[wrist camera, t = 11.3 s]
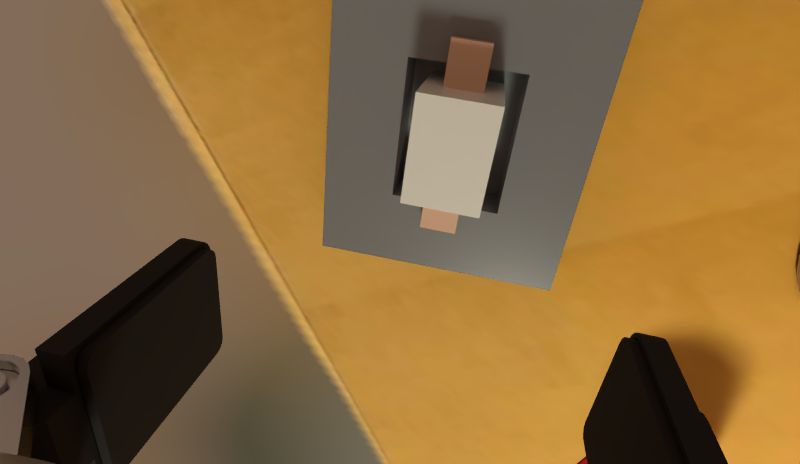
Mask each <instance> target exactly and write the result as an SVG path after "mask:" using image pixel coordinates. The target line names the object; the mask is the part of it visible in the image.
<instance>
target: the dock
mask: <svg viewBox="0 0 800 464" xmlns="http://www.w3.org/2000/svg"><path fill="white" fill-rule="evenodd" d="M642 3H643V0H333V2H332V27H331V52H330V77H329V102H328V126H327V151H326V176H325V201H324V226H323V246H328V247H333V248H338V249H343V250H348V251H353V252H358V253H363V254H368V255H373V256H378V257H383V258H388V259H393V260H398V261H403V262H409V263H414V264H419V265H424V266H429V267H434V268H439V269H444V270H449V271H454V272H459V273H464V274H469V275H474V276H479V277H484V278H489V279H494V280H499V281H504V282H509V283H514V284H519V285H524V286H529V287H535V288H540V289H545V290H550V289H551V286H552V283H553V280H554V277H555V273H556V270H557V267H558V264H559V261H560V258H561V255H562V252H563V249H564V245H565V242H566V239H567V236H568V233H569V230H570V227H571V224H572V221H573V217H574V214H575V211H576V208H577V205H578V202H579V199H580V196H581V193H582V189H583V186H584V183H585V180H586V177H587V174H588V171H589V168H590V165H591V161H592V158H593V155H594V152H595V149H596V146H597V143H598V140H599V137H600V133H601V130H602V127H603V124H604V121H605V118H606V115H607V112H608V109H609V105H610V102H611V99H612V96H613V93H614V90H615V87H616V84H617V81H618V77H619V74H620V71H621V68H622V65H623V62H624V59H625V56H626V53H627V49H628V46H629V43H630V40H631V37H632V34H633V31H634V28H635V25H636V21H637V18H638V15H639V12H640V9H641V6H642ZM452 36H458V37H464V38H470V39H477V40H483V41H490V42H495V43H494V48H493V53H492V58H491V62H490V67H489V72H488V77H487V81H493V82H499V83H504V88H505V110H504V114H503V118H502V123H501V127H500V131H499V136H498V140H497V144H496V149H495V153H494V157H493V161H492V166H491V170H490V174H489V179H488V183H487V187H486V192H485V196H484V200H483V205H482V209H481V213H480V218H474V217H469V216H464V215H459V216H458V221H457V226H456V231H455V234H452V233H447V232H442V231H437V230H432V229H427V228H422V227H420V222H421V216H422V210H423V207H418V206H413V205H408V204H403V203H400V200H401V193H402V186H403V178H404V171H405V164H406V157H407V150H408V143H409V136H410V128H411V121H412V114H413V107H414V100H415V93H416V91H417V90H418V88H419V87H420V86H421V85H422V84H423V82H424V81H425V80H426V79H427V78H428V77H429V75H430V74H431V73H432V72H438V73H444V74H445V72H446V66H447V60H448V54H449V48H450V41H451V37H452Z"/></svg>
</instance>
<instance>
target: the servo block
mask: <svg viewBox="0 0 800 464" xmlns="http://www.w3.org/2000/svg"><path fill="white" fill-rule="evenodd" d="M494 43H495V42H490V41H483V40H477V39H470V38H464V37H458V36H452V37H451V41H450V48H449V54H448V60H447V66H446V72H445V74H444V73H438V72H432V73H431V74H430V75H429V77H428V78H427V79H426V80H425V81H424V82H423V84H422V85H421V86H420V87H419V88H418V90H417V91H416V93H415V100H414V107H413V114H412V121H411V128H410V136H409V143H408V150H407V157H406V164H405V171H404V178H403V186H402V193H401V200H400V203H403V204H408V205H413V206H418V207H423V210H422V216H421V222H420V227H422V228H427V229H432V230H437V231H442V232H447V233H452V234H455V231H456V226H457V221H458V216H459V215H464V216H469V217H474V218H480V213H481V209H482V205H483V200H484V196H485V192H486V187H487V183H488V179H489V174H490V170H491V166H492V161H493V157H494V153H495V149H496V144H497V140H498V136H499V131H500V127H501V123H502V118H503V114H504V110H505V88H504V83H499V82H493V81H487V77H488V72H489V67H490V62H491V58H492V53H493V48H494Z"/></svg>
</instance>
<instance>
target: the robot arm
mask: <svg viewBox="0 0 800 464" xmlns="http://www.w3.org/2000/svg"><path fill="white" fill-rule="evenodd" d="M797 280H798V289H799V291H800V254H799V260H798V267H797ZM220 314H221V313H220V302H219V291H218V278H217V268H216V257H215V253H214V251H212V250H210V247H209V246H208V244H207V243H205V242H200V241H195V240H190V239H186V238H181V239H179V240H178V241H176V242H175V243H174V244H172V245H171V246H170V247H168V248H167V249H166V250H164V251H163V252H162V253H160V254H159V255H158V256H157V257H155V258H154V259H153V260H151V261H150V262H149V263H147V264H146V265H145V266H143V267H142V268H141V269H139V270H138V271H137V272H135V273H134V274H133V275H132V276H130V277H129V278H128V279H126V280H125V281H124V282H122V283H121V284H120V285H118V286H117V287H116V288H114V289H113V290H112V291H110V292H109V293H108V294H107V295H105V296H104V297H103V298H101V299H100V300H99V301H97V302H96V303H95V304H93V305H92V306H91V307H89V308H88V309H87V310H86V311H84V312H83V313H82V314H80V315H79V316H78V317H76V318H75V319H74V320H72V321H71V322H70V323H68V324H67V325H66V326H64V327H63V328H62V329H61V330H59V331H58V332H57V333H55V334H54V335H53V336H51V337H50V338H49V339H48V340H46V341H45V342H43V343H42V344H41V345H40V346H38V347H37V348H36V349H35V351H36V354H37V356H36V357H34V358H33V359H32V360H31V361H29V362H28V363H27V362H26V361H25V360H24V359H23V358H21V357H18V356H15V355H5V354H0V464H129V463H130V462H131V461H132V460H133V458H134V457H135V456H136V455H137V453H138V452H139V451H140V450H141V448H142V447H143V446H144V445H145V443H146V442H147V441H148V440H149V438H150V437H151V436H152V435H153V433H154V432H155V431H156V430H157V428H158V427H159V426H160V424H161V423H162V422H163V421H164V419H165V418H166V417H167V416H168V415H169V413H170V412H171V411H172V409H173V408H174V407H175V405H176V404H177V403H178V402H179V401H180V399H181V398H182V397H183V396H184V394H185V393H186V392H187V391H188V389H189V388H190V387H191V385H192V384H193V383H194V382H195V381H196V379H197V378H198V377H199V376H200V374H201V373H202V372H203V370H204V369H205V368H206V367H207V365H208V364H209V363H210V362H211V360H212V359H213V358H214V357H215V355H216V354H217V353H218V351H219V349H220V347H221V344H222V325H221V315H220ZM583 439H584V446H585V452H586V457H587V463H588V464H728V463H727V460H726V458H725V456H724V454H723V452H722V450H721V448H720V446H719V443H718V441H717V439H716V437H715V435H714V433H713V431H712V429H711V426H710V424H709V422H708V420H707V419H706V417H705V416H704V414H703V413H701V412H700V411H699V409H698V407H697V405H696V403H695V401H694V399H693V396H692V394H691V392H690V390H689V388H688V386H687V383H686V381H685V379H684V377H683V375H682V373H681V370H680V368H679V366H678V364H677V362H676V360H675V357H674V355H673V353H672V351H671V349H670V347H669V344H668V342H667V341H666V339H664V338H660V337H655V336H651V335H646V334H641V333H634V334H633V335H632V336H631V337H630V338H627V337H624V338H623V339H622V340H621V342H620V344H619V346H618V348H617V351H616V353H615V355H614V357H613V360H612V362H611V364H610V367H609V369H608V371H607V374H606V376H605V378H604V380H603V383H602V385H601V387H600V390H599V392H598V394H597V397H596V399H595V401H594V404H593V406H592V408H591V410H590V413H589V415H588V417H587V420H586V422H585V425H584V432H583Z"/></svg>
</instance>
